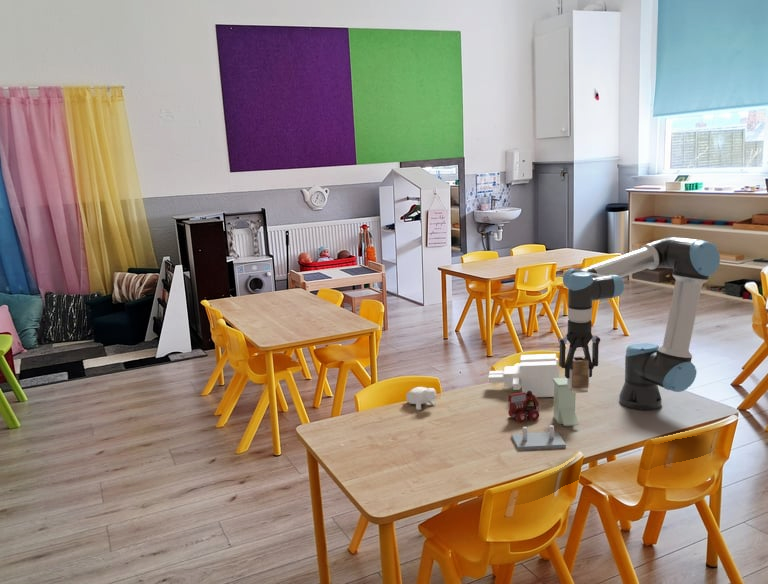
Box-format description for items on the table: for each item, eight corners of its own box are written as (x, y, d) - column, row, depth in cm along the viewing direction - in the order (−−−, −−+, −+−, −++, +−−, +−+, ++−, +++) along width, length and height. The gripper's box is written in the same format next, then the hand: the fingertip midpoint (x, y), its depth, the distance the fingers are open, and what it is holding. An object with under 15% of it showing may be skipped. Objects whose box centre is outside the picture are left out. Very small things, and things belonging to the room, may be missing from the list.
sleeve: (582, 386, 221) (583, 356, 218) (587, 392, 216) (588, 360, 214) (568, 387, 221) (569, 356, 218) (572, 393, 216) (573, 361, 213)
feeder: (570, 415, 240) (571, 377, 237) (580, 429, 229) (581, 389, 225) (552, 416, 240) (552, 378, 237) (561, 430, 228) (562, 390, 225)
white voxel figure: (492, 383, 281) (559, 381, 274) (488, 405, 258) (561, 403, 251) (490, 350, 278) (557, 347, 271) (485, 370, 255) (558, 367, 248)
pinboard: (557, 434, 225) (557, 419, 224) (565, 447, 215) (566, 432, 214) (511, 437, 225) (511, 422, 223) (518, 450, 215) (518, 434, 214)
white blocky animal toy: (406, 411, 258) (427, 409, 245) (401, 390, 259) (422, 387, 246) (423, 406, 262) (445, 403, 250) (418, 385, 263) (439, 382, 251)
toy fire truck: (543, 419, 238) (544, 392, 236) (514, 425, 234) (514, 398, 232) (533, 412, 245) (533, 386, 242) (504, 417, 241) (504, 391, 239)
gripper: (602, 315, 217) (600, 381, 222) (549, 318, 216) (548, 383, 222) (611, 321, 209) (608, 389, 215) (555, 324, 209) (554, 391, 214)
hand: (578, 386), depth 218 cm, fingers closed on sleeve, 5 cm apart
